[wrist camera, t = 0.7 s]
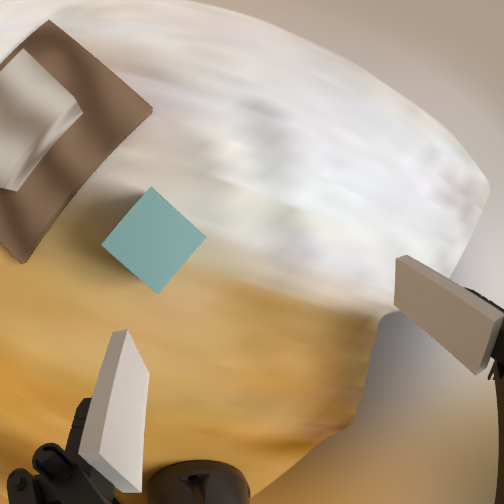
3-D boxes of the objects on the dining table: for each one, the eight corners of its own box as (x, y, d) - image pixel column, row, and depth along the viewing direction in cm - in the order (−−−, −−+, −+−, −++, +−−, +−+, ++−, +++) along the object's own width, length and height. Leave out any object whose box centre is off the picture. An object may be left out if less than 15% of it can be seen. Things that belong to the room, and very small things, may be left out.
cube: (156, 280, 28) (158, 294, 22) (111, 240, 26) (101, 244, 21) (195, 234, 29) (206, 237, 23) (151, 194, 27) (151, 186, 22)
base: (26, 262, 23) (3, 270, 18) (-57, 151, 17) (-81, 143, 12) (152, 112, 26) (153, 90, 21) (51, 26, 20) (41, 0, 15)
